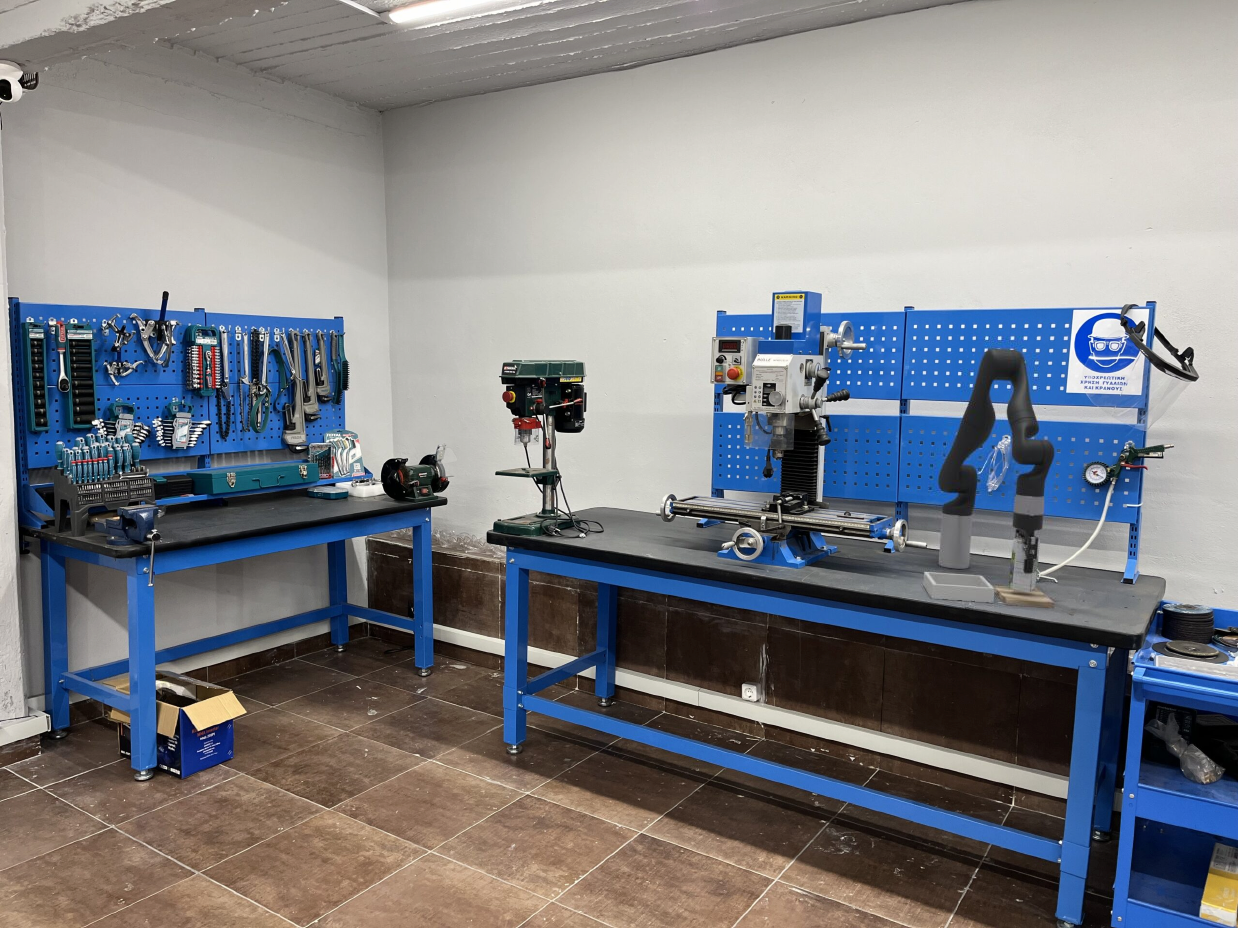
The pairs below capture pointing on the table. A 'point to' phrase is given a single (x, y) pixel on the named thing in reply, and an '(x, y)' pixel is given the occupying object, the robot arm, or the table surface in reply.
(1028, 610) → the table surface
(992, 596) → the parts tray
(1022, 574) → the syrup box
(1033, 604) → the board
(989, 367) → the robot arm
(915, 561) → the table surface
